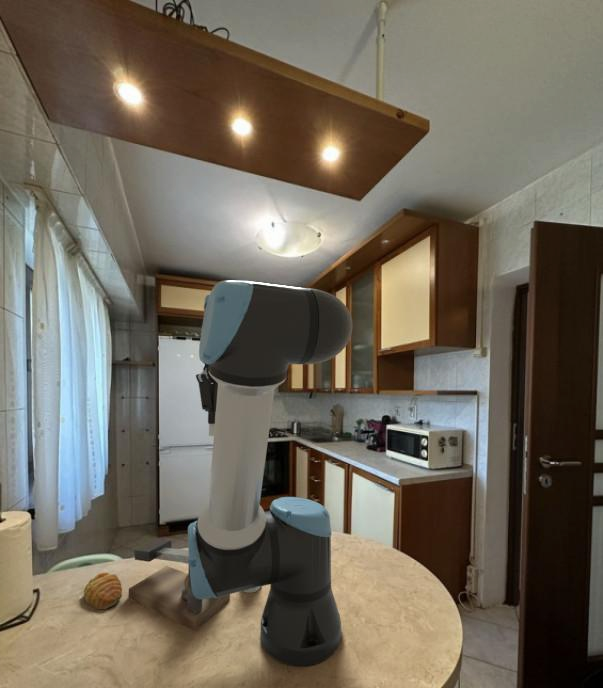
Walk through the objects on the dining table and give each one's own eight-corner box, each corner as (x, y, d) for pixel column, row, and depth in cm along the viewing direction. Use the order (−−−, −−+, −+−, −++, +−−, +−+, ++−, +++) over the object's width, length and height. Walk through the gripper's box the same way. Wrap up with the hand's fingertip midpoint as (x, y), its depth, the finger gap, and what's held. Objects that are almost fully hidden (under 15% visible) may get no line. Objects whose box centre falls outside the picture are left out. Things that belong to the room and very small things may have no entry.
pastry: (130, 600, 71) (131, 581, 71) (95, 618, 66) (96, 597, 66) (112, 583, 77) (113, 566, 77) (79, 598, 72) (80, 579, 72)
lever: (222, 559, 70) (221, 545, 71) (201, 573, 65) (200, 558, 65) (157, 551, 79) (156, 539, 80) (134, 563, 74) (134, 550, 75)
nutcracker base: (229, 599, 71) (231, 543, 72) (195, 630, 62) (197, 565, 63) (166, 574, 80) (168, 525, 81) (128, 598, 71) (131, 542, 72)
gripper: (222, 352, 99) (220, 431, 96) (189, 348, 88) (185, 438, 85) (242, 351, 95) (240, 433, 93) (210, 346, 84) (207, 440, 81)
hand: (214, 435), depth 89 cm, fingers closed
